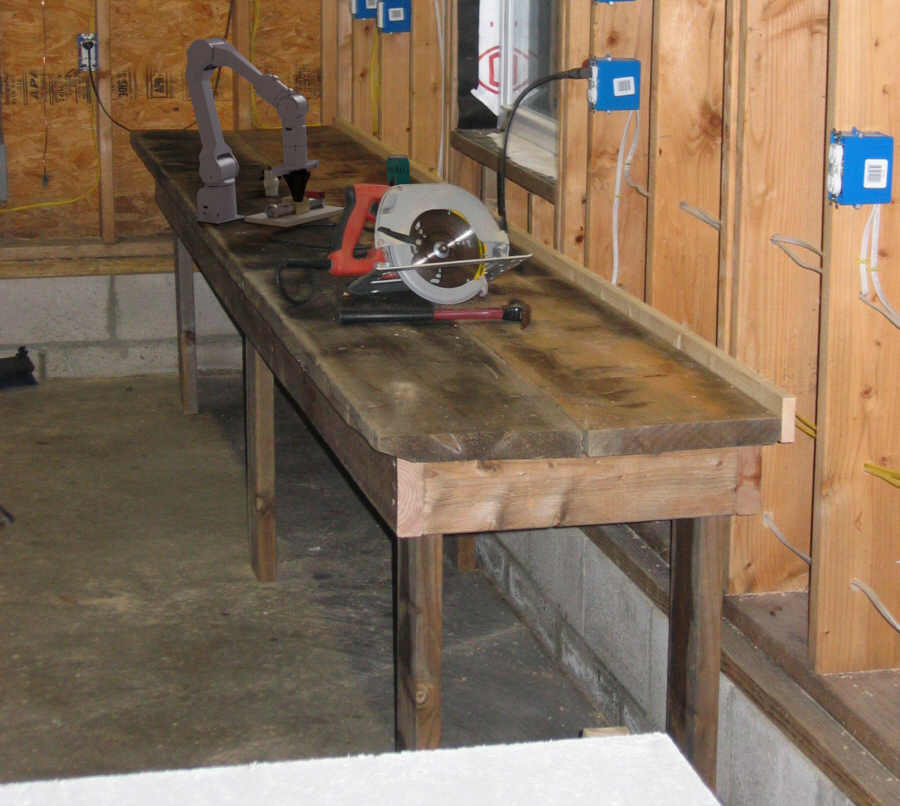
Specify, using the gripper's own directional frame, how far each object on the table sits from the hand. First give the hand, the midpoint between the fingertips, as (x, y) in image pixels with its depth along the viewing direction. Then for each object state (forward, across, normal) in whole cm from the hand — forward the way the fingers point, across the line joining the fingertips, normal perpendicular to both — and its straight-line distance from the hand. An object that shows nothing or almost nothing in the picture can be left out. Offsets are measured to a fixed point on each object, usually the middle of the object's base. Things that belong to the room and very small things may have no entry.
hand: (298, 201), depth 346 cm
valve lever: (0, +6, +3) cm, 6 cm away
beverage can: (+6, +20, -16) cm, 26 cm away
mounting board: (+5, +6, +6) cm, 10 cm away
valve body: (+5, +6, +6) cm, 10 cm away
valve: (+6, +30, +38) cm, 49 cm away
